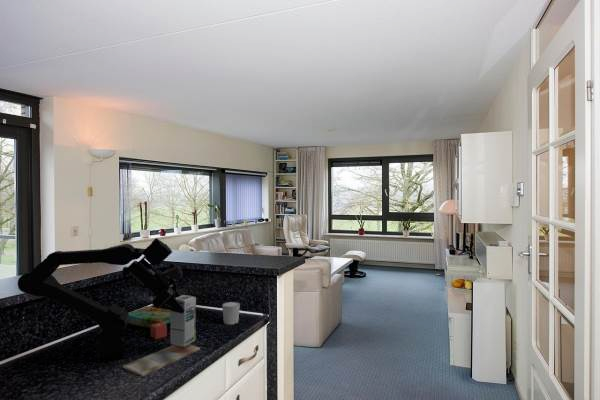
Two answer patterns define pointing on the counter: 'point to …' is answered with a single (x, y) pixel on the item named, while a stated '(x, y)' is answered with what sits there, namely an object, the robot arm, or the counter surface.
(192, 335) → the syrup box
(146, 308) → the puzzle game
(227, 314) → the shot glass
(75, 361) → the counter surface
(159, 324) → the red die
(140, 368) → the game board
